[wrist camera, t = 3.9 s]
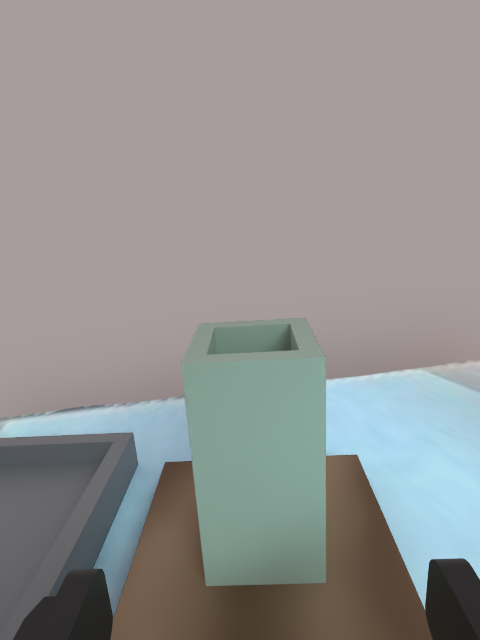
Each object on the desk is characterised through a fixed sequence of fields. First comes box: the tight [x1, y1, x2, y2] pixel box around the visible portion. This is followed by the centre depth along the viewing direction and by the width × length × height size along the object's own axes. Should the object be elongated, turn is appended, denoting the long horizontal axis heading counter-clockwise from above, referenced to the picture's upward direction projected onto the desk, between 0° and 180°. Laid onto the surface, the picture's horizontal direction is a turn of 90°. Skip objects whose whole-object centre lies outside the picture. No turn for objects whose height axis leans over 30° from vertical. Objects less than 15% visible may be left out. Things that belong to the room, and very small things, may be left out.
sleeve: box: [181, 318, 326, 586], centre depth 17 cm, size 5×5×10 cm
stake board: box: [110, 352, 433, 640], centre depth 18 cm, size 12×12×10 cm
